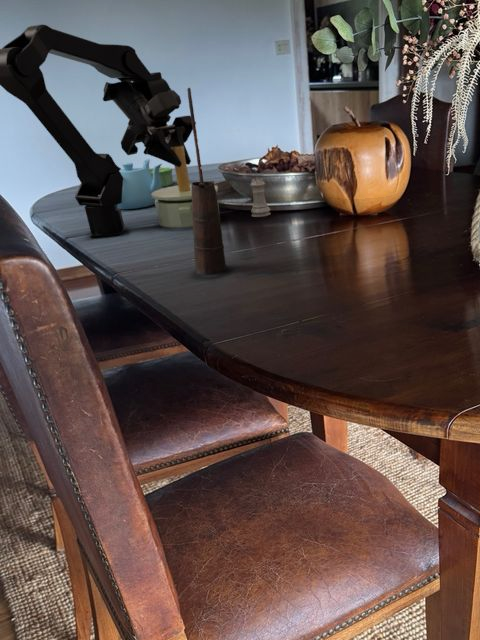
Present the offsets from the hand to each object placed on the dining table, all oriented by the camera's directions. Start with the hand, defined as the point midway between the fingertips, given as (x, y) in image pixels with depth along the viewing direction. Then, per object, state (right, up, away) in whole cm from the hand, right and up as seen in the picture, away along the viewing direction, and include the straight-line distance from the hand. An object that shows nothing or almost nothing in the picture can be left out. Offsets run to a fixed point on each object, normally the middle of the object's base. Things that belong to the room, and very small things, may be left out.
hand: (185, 164), depth 139 cm
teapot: (-19, +2, +30) cm, 35 cm away
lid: (-1, -5, +4) cm, 6 cm away
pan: (0, -10, +7) cm, 12 cm away
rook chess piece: (+16, -9, +6) cm, 20 cm away
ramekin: (-19, +15, +53) cm, 59 cm away
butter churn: (+11, -31, -30) cm, 44 cm away
